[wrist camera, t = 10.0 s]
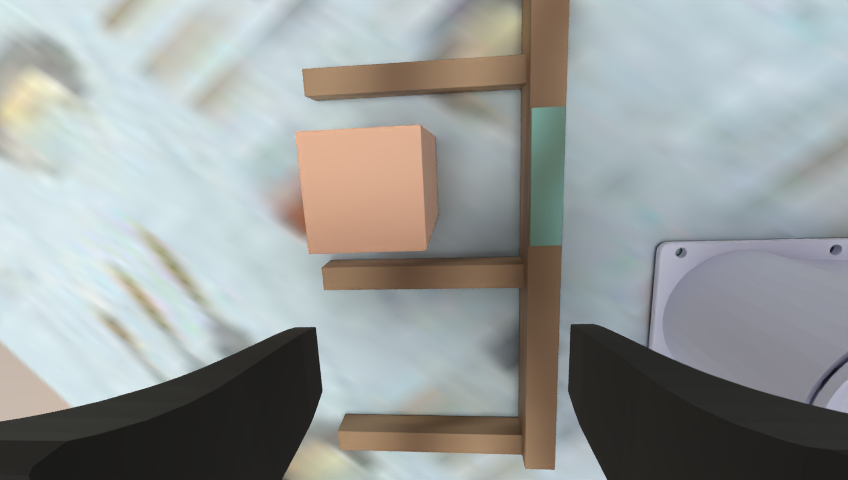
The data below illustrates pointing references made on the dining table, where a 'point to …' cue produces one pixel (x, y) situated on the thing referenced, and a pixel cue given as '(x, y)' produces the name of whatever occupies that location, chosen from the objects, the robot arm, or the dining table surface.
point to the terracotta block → (368, 188)
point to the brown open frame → (531, 272)
